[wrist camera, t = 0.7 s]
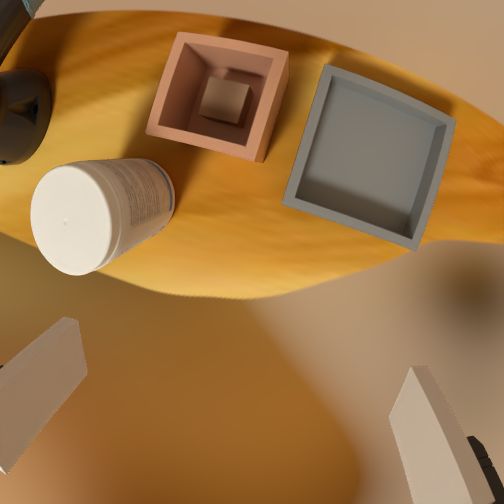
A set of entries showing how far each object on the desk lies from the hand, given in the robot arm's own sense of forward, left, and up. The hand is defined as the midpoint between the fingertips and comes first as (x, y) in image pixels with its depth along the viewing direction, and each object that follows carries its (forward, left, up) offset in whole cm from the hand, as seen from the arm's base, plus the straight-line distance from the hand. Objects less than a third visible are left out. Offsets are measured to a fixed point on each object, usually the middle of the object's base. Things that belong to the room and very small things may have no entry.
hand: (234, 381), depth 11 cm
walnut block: (-14, +6, -25) cm, 29 cm away
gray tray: (0, +14, -26) cm, 29 cm away
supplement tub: (-13, -9, -26) cm, 31 cm away
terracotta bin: (-14, +6, -26) cm, 30 cm away
